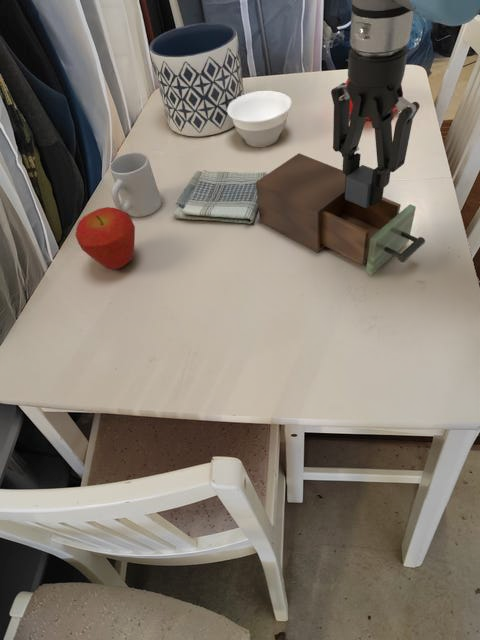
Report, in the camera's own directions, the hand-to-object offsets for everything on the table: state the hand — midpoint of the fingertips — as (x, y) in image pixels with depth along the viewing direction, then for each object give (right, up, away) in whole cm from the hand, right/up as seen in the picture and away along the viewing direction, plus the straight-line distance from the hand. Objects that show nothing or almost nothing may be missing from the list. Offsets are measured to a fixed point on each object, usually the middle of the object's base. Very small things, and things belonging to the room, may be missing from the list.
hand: (363, 196), depth 76 cm
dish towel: (-25, +6, +24) cm, 35 cm away
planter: (-30, +36, +50) cm, 69 cm away
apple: (-46, -10, +14) cm, 49 cm away
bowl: (-15, +26, +39) cm, 49 cm away
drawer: (+3, -7, +7) cm, 10 cm away
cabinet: (-7, -1, +15) cm, 17 cm away
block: (0, 0, 0) cm, 0 cm away
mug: (-44, +4, +25) cm, 51 cm away
